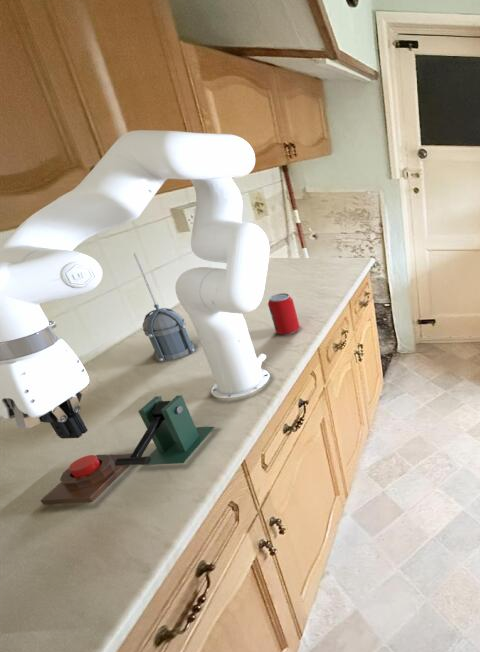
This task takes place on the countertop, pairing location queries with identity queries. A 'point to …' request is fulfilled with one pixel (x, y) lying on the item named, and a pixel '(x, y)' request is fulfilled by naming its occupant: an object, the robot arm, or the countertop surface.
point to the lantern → (166, 332)
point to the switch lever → (145, 439)
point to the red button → (84, 466)
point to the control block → (86, 482)
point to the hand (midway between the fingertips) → (74, 434)
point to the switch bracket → (173, 432)
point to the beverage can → (283, 313)
